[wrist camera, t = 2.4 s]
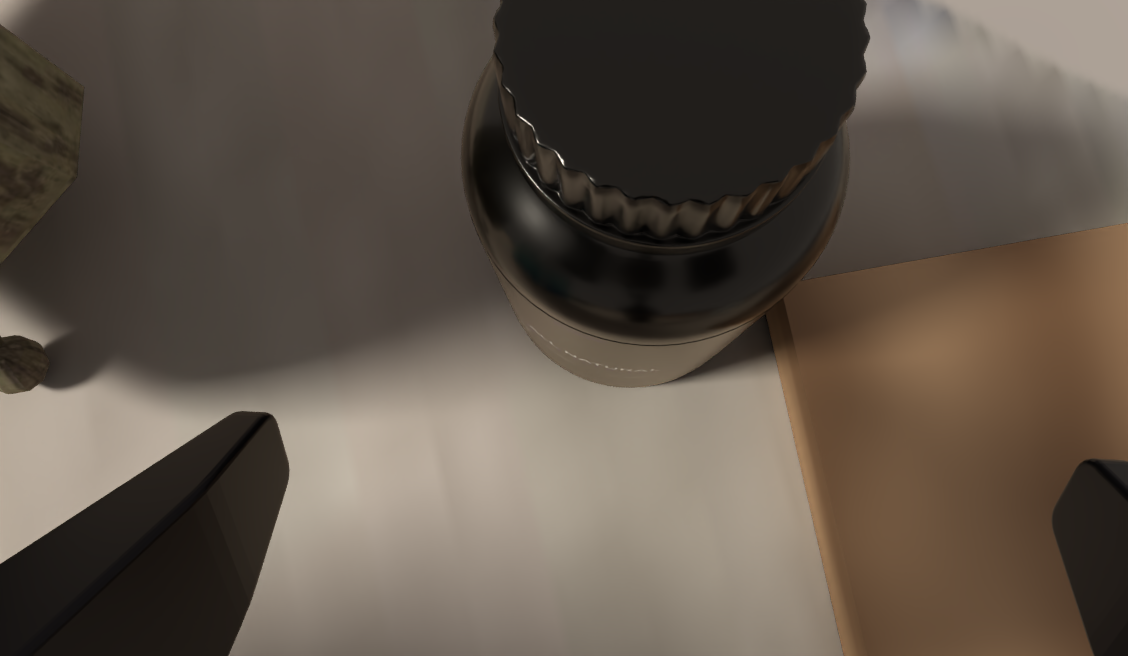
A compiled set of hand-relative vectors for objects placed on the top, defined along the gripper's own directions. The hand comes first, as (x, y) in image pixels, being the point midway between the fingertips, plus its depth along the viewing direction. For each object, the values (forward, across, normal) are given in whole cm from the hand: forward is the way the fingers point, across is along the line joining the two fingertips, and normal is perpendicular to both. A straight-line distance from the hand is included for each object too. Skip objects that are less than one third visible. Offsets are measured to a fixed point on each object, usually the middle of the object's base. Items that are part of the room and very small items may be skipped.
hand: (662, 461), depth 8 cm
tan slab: (+9, -10, +8) cm, 16 cm away
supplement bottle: (+12, 0, +5) cm, 13 cm away
